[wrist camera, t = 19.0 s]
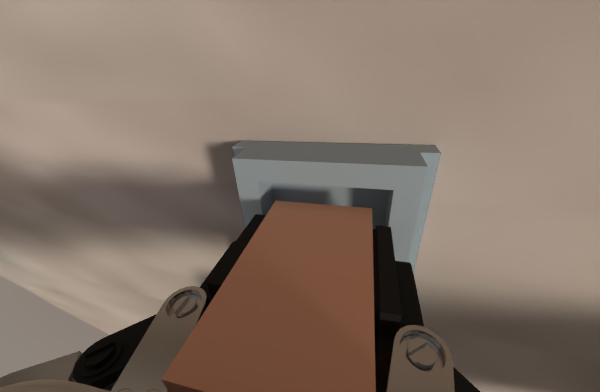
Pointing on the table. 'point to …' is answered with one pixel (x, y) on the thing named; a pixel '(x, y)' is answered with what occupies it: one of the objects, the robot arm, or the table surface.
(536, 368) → the table surface
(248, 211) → the jig
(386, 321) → the robot arm
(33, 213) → the table surface
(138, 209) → the table surface
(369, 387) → the brown rectangular brick
